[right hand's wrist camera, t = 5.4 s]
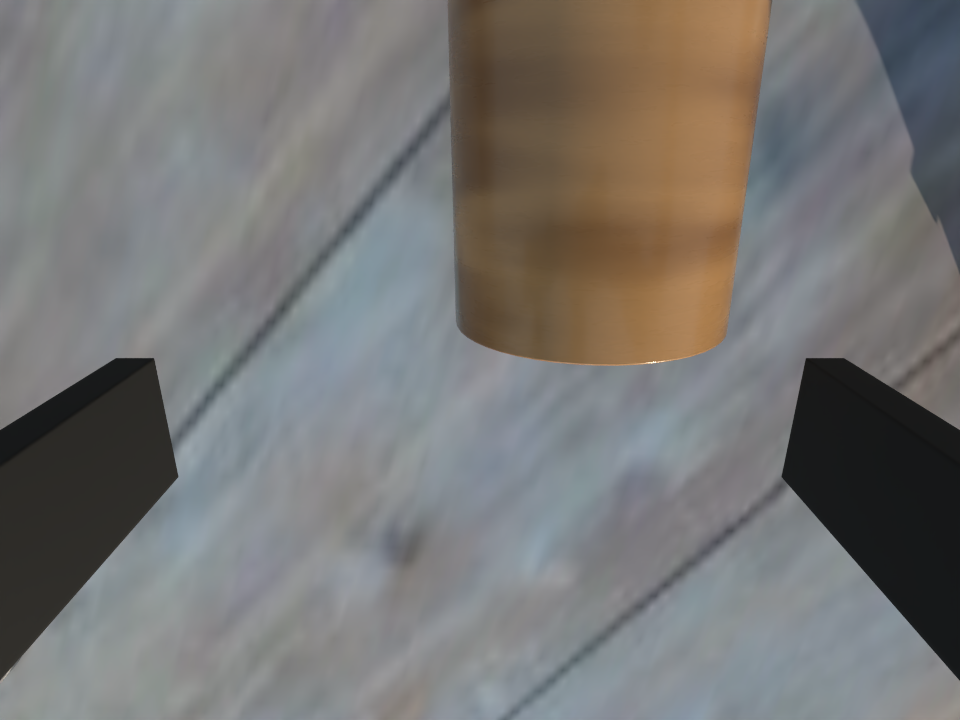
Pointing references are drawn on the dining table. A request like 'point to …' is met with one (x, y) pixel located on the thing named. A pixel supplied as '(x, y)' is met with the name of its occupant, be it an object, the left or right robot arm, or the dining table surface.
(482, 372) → the dining table surface
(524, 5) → the rod
